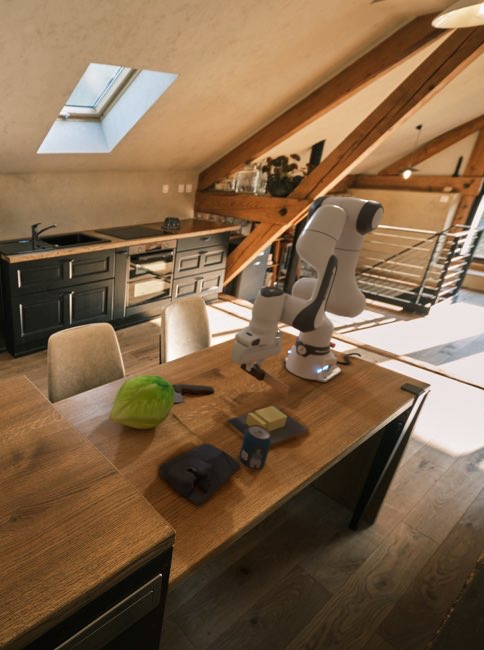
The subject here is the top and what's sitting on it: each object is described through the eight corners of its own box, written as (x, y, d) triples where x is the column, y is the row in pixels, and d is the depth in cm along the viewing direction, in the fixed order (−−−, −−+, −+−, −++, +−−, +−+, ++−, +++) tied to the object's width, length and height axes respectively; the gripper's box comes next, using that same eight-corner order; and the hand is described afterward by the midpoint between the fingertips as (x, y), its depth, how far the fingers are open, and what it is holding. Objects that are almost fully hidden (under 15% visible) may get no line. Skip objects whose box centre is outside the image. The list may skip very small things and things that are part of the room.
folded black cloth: (248, 475, 108) (251, 462, 106) (194, 510, 97) (196, 496, 95) (206, 442, 120) (208, 430, 118) (153, 469, 109) (155, 457, 107)
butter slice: (249, 421, 127) (251, 412, 126) (263, 433, 122) (266, 423, 121) (245, 423, 127) (248, 413, 125) (260, 434, 122) (262, 424, 120)
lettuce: (105, 441, 127) (88, 392, 128) (163, 411, 138) (146, 366, 139) (135, 448, 110) (115, 392, 111) (197, 413, 121) (179, 362, 122)
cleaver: (209, 387, 148) (210, 382, 147) (219, 402, 139) (220, 397, 138) (134, 389, 145) (134, 384, 145) (140, 405, 137) (140, 400, 136)
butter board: (272, 408, 137) (276, 395, 135) (308, 433, 125) (312, 420, 123) (225, 423, 128) (228, 410, 126) (258, 452, 117) (262, 438, 114)
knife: (240, 367, 138) (241, 359, 137) (245, 366, 139) (247, 358, 137) (284, 397, 122) (287, 388, 121) (289, 395, 123) (292, 386, 122)
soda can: (251, 452, 116) (259, 421, 112) (268, 469, 110) (278, 437, 106) (233, 458, 114) (240, 426, 109) (249, 475, 108) (258, 442, 103)
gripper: (275, 325, 135) (267, 359, 141) (231, 335, 127) (224, 370, 133) (291, 333, 130) (281, 368, 135) (246, 343, 122) (237, 379, 128)
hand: (252, 369), depth 134 cm, fingers closed on knife, 2 cm apart
